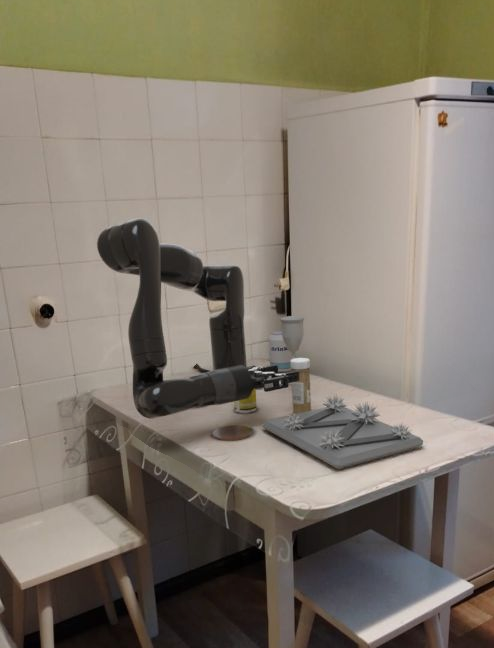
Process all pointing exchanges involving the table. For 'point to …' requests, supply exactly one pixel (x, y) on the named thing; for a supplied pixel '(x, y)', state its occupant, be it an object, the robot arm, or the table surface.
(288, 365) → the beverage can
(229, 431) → the coaster
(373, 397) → the table surface
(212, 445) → the table surface
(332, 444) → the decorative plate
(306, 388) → the sprinkles bottle
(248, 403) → the supplement bottle
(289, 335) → the chalice
